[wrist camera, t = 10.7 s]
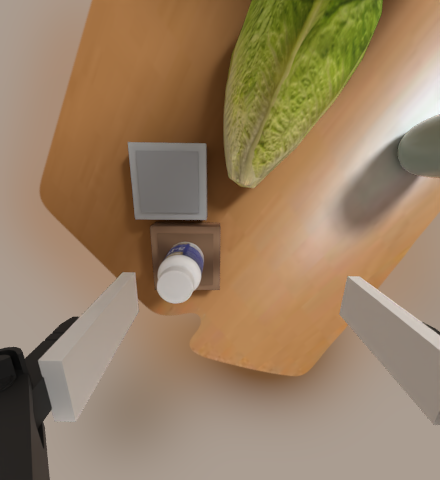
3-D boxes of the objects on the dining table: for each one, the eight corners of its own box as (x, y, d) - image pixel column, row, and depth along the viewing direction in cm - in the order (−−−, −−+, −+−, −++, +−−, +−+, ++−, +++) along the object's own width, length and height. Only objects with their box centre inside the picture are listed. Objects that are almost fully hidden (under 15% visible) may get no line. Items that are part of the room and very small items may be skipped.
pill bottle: (185, 233, 31) (173, 254, 23) (211, 258, 32) (209, 287, 24) (160, 258, 32) (140, 287, 24) (186, 281, 33) (176, 317, 25)
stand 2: (155, 222, 34) (149, 226, 31) (220, 222, 34) (220, 227, 31) (159, 281, 37) (154, 290, 34) (219, 281, 37) (219, 290, 34)
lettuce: (177, 161, 27) (264, 202, 21) (264, -110, 20) (434, -160, 14) (228, 178, 37) (296, 209, 31) (298, 4, 30) (404, 2, 24)
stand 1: (135, 145, 31) (126, 141, 28) (206, 146, 31) (205, 143, 28) (141, 215, 34) (134, 219, 31) (207, 216, 34) (206, 220, 31)
